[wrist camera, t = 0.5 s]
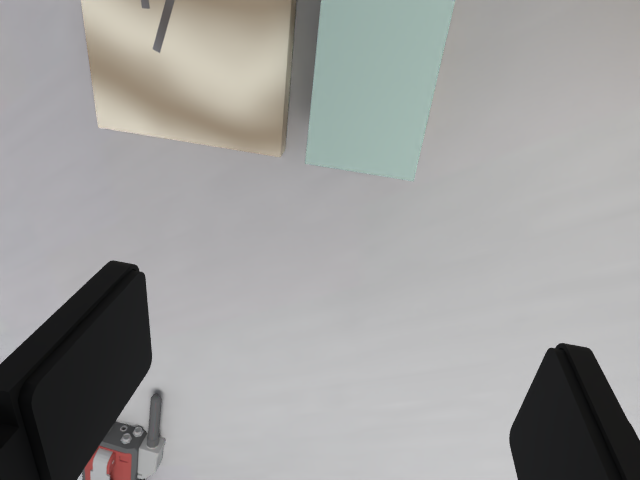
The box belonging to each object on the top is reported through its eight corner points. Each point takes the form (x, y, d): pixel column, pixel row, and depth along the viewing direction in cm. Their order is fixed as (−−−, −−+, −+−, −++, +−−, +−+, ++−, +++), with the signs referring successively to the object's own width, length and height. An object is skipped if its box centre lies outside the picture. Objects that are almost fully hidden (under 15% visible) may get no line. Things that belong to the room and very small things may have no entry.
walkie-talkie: (161, 494, 59) (172, 388, 48) (144, 530, 55) (152, 424, 44) (94, 474, 59) (91, 364, 48) (72, 509, 55) (64, 398, 45)
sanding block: (343, -45, 27) (325, -49, 21) (449, -31, 26) (462, -31, 20) (323, 127, 32) (304, 163, 26) (411, 140, 31) (413, 181, 25)
